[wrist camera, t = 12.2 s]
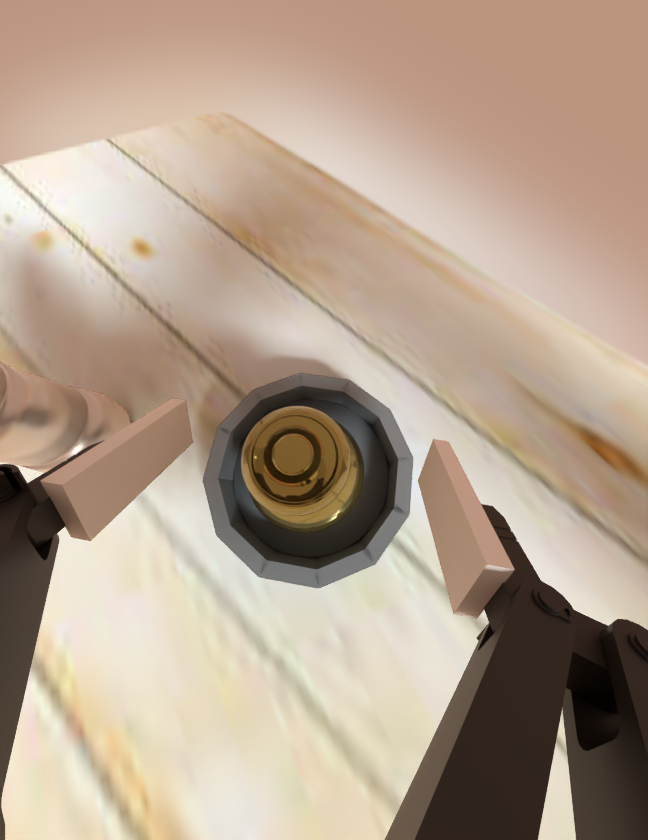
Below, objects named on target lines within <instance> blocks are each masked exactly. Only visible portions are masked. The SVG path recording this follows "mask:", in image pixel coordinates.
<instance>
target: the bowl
mask: <svg viewBox="0 0 648 840" xmlns="http://www.w3.org/2000/svg"><path fill="white" fill-rule="evenodd" d="M290 406H305V407H310V408H314V409H316V410H319V411H321V412H323V413H325V414H326V415H328V416H329V417H330V418H332V419H334V420H335V421H337V422H339V423H340V424H341V425H343V426H344V427H345V428H346V429H347V430H348V431H349V432H350V433H351V435H352V436H353V437H354V439H355V440H356V442H357V444H358V446H359V448H360V450H361V453H362V457H363V461H364V483H363V487H362V491H361V493H360V496H359V498H358V500H357V502H356V504H355V505H354V507H353V508H352V510H351V511H350V512H349V513H348V514H347V515H346V516H345V517H344V518H343V519H342V520H340V521H339V522H338V523H336V524H335V525H333V526H331V527H329V528H326V529H324V530H321V531H317V532H310V533H299V532H292V531H288V530H285V529H283V528H280V527H278V526H276V525H275V524H273V523H271V522H270V521H269V520H267V519H266V518H265V517H264V516H263V515H262V514H261V513H260V512H259V510H258V509H257V507H256V506H255V504H254V503H253V501H252V499H251V496H250V494H249V491H248V488H247V486H246V484H245V481H244V478H243V474H242V468H241V456H242V450H243V446H244V443H245V441H246V438H247V436H248V435H249V433H250V431H251V430H252V428H253V427H254V426H255V425H256V424H257V423H258V422H259V421H260V420H261V419H262V418H263V417H265V416H266V415H268V414H269V413H271V412H273V411H275V410H278V409H281V408H284V407H290ZM218 427H219V428H218ZM218 427H217V431H216V435H215V438H214V442H213V445H212V449H211V452H210V456H209V459H208V463H207V467H206V470H205V474H204V477H203V483H204V487H205V491H206V495H207V499H208V503H209V507H210V511H211V516H212V520H213V524H214V528H215V532H216V535H217V537H218V538H219V539H220V540H221V541H222V542H224V543H225V544H226V545H227V546H228V547H229V548H230V549H231V550H232V551H233V552H234V553H235V554H236V555H237V556H238V557H239V558H240V559H241V560H242V561H243V562H244V563H245V564H246V565H247V566H248V567H249V568H250V569H251V570H252V571H253V572H254V573H255V574H256V575H257V576H258V577H261V578H266V579H271V580H277V581H282V582H287V583H292V584H298V585H303V586H308V587H313V588H318V587H319V588H321V587H323V586H326V585H328V584H330V583H333V582H335V581H337V580H340V579H342V578H344V577H347V576H349V575H351V574H354V573H356V572H359V571H361V570H363V569H366V568H368V567H370V566H373V565H375V564H376V563H377V561H378V560H379V558H380V557H381V555H382V554H383V552H384V551H385V549H386V548H387V547H388V545H389V544H390V542H391V541H392V539H393V538H394V536H395V535H396V533H397V532H398V531H399V529H400V528H401V526H402V525H403V523H404V522H405V520H406V519H407V517H408V516H409V515H408V514H409V512H410V498H411V483H412V469H413V456H412V454H411V452H410V450H409V448H408V446H407V444H406V442H405V439H404V437H403V435H402V433H401V431H400V429H399V427H398V425H397V423H396V420H395V418H394V416H393V414H392V412H391V410H390V409H389V408H387V407H386V406H385V405H383V404H382V403H381V402H379V401H378V400H376V399H375V398H374V397H372V396H371V395H370V394H368V393H367V392H365V391H364V390H363V389H361V388H360V387H359V386H357V385H356V384H354V383H353V382H352V381H350V380H347V379H340V378H333V377H326V376H319V375H312V374H304V373H301V374H300V373H299V374H296V375H293V376H290V377H287V378H285V379H282V380H279V381H276V382H273V383H270V384H268V385H265V386H262V387H259V388H256V389H254V390H252V391H251V392H250V394H249V395H248V396H247V397H246V398H245V399H244V400H243V401H242V402H241V403H240V404H239V405H238V406H237V407H236V408H235V409H234V410H233V411H232V412H231V414H230V415H229V416H228V417H227V418H226V419H225V420H224V421H223V422H222V423H221V424H220V425H219V426H218ZM383 505H384V506H383ZM374 563H375V564H374Z"/></svg>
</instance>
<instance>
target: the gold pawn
mask: <svg viewBox="0 0 648 840" xmlns="http://www.w3.org/2000/svg"><path fill="white" fill-rule="evenodd" d="M241 468H242V474H243V478H244V481H245V484H246V486H247V488H248V491H249V494H250V496H251V499H252V501H253V503H254V504H255V506H256V507H257V509H258V510H259V512H260V513H261V514H262V515H263V516H264V517H265V518H266V519H267V520H269V521H270V522H271V523H273V524H275V525H276V526H278V527H280V528H283V529H285V530H288V531H292V532H299V533H310V532H317V531H321V530H324V529H326V528H329V527H331V526H333V525H335V524H336V523H338V522H339V521H340V520H342V519H343V518H344V517H345V516H346V515H347V514H348V513H349V512H350V511H351V510H352V508H353V507H354V505H355V504H356V502H357V500H358V498H359V496H360V493H361V491H362V487H363V483H364V461H363V457H362V453H361V450H360V448H359V446H358V444H357V442H356V440H355V439H354V437H353V436H352V435H351V433H350V432H349V431H348V430H347V429H346V428H345V427H344V426H343V425H341V424H340V423H339V422H337V421H335V420H334V419H332V418H330V417H329V416H328V415H326V414H325V413H323V412H321V411H319V410H316V409H314V408H310V407H305V406H290V407H284V408H281V409H278V410H275V411H273V412H271V413H269V414H268V415H266V416H265V417H263V418H262V419H261V420H260V421H259V422H258V423H257V424H256V425H255V426H254V427H253V428H252V430H251V431H250V433H249V435H248V436H247V438H246V441H245V443H244V446H243V450H242V456H241Z"/></svg>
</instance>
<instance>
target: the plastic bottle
mask: <svg viewBox="0 0 648 840" xmlns="http://www.w3.org/2000/svg"><path fill="white" fill-rule="evenodd" d="M130 424H131V422H130V419H129V416H128V414H127V412H126V411H125V410H124V408H122V407H121V406H120V405H119V404H117V403H116V402H114V401H113V400H111V399H110V398H109V397H107V396H105V395H103V394H100V393H96V392H93V391H89V390H86V389H82V388H77V387H72V386H66V385H63V384H60V383H57V382H54V381H50V380H47V379H44V378H41V377H38V376H35V375H32V374H29V373H26V372H23V371H20V370H17V369H14V368H12V367H10V366H7V365H5V364H3V363H1V362H0V462H3V463H9V464H15V465H19V466H22V467H26V468H29V469H32V470H36V471H40V472H47V471H49V470H50V469H52V468H54V467H55V466H57V465H59V464H60V463H62V462H63V461H67V459H68V458H70V457H72V456H73V455H77V453H78V452H80V451H82V450H83V449H85V448H86V447H88V446H90V445H93V444H95V443H98V442H100V441H103V440H106V439H108V438H109V437H111V436H112V435H114V434H116V433H117V432H119V431H120V430H122V429H124V428H125V427H127V426H128V425H130Z"/></svg>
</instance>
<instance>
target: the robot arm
mask: <svg viewBox="0 0 648 840" xmlns="http://www.w3.org/2000/svg"><path fill="white" fill-rule="evenodd" d="M192 443H193V440H192V434H191V428H190V422H189V416H188V410H187V404H186V400H182V399H175V398H172V399H170V400H168V401H167V402H165V403H164V404H162V405H160V406H159V407H157V408H156V409H154V410H152V411H151V412H149V413H148V414H146V415H144V416H143V417H141V418H140V419H138V420H136V421H135V422H133V423H132V424H130V425H128V426H127V427H125V428H124V429H122V430H120V431H119V432H117V433H116V434H114V435H112V436H111V437H109V438H108V439H106V440H103V441H100V442H98V443H95V444H93V445H90V446H88V447H86V448H85V449H83V450H82V451H80V452H78V453H77V455H73V456H72V457H70V458H68V459H67V461H63V462H62V463H60V464H59V465H57V466H55V467H54V468H52V469H50V470H49V471H47V472H45V473H44V474H42V475H41V476H39V477H37V478H36V479H34V480H32V481H31V482H29V483H27V482H26V480H25V479H24V477H23V475H22V474H21V472H20V470H19V469H18V467H16V466H15V465H11V464H1V465H0V840H5V822H4V818H3V814H2V809H1V798H2V792H3V787H4V782H5V778H6V774H7V769H8V765H9V760H10V756H11V752H12V747H13V743H14V738H15V734H16V729H17V725H18V721H19V716H20V712H21V707H22V703H23V699H24V694H25V690H26V685H27V681H28V677H29V672H30V668H31V663H32V659H33V655H34V650H35V646H36V641H37V637H38V632H39V628H40V624H41V619H42V615H43V610H44V606H45V602H46V597H47V593H48V588H49V584H50V580H51V575H52V571H53V566H54V562H55V557H56V553H57V549H58V544H59V536H58V535H57V533H58V532H59V531H60V530H61V529H63V528H64V527H66V529H67V530H68V532H69V534H70V536H71V537H73V538H78V539H83V540H88V541H91V540H92V539H93V538H94V537H95V536H96V535H97V534H98V533H99V532H100V531H101V530H102V529H104V528H105V527H106V526H107V525H108V524H109V523H110V522H111V521H112V520H113V519H114V518H115V517H116V516H117V515H118V514H119V513H120V512H121V511H122V510H123V509H124V508H125V507H126V506H127V505H128V504H130V503H131V502H132V501H133V500H134V499H135V498H136V497H137V496H138V495H139V494H140V493H141V492H142V491H143V490H144V489H145V488H146V487H147V486H148V485H149V484H150V483H151V482H152V481H153V480H154V479H156V478H157V477H158V476H159V475H160V474H161V473H162V472H163V471H164V470H165V469H166V468H167V467H168V466H169V465H170V464H171V463H172V462H173V461H174V460H175V459H176V458H177V457H178V456H179V455H180V454H182V453H183V452H184V451H185V450H186V449H187V448H188V447H189V446H190V445H191V444H192ZM418 482H419V486H420V490H421V494H422V497H423V501H424V505H425V509H426V512H427V516H428V520H429V524H430V527H431V531H432V535H433V539H434V542H435V546H436V550H437V554H438V557H439V561H440V565H441V569H442V572H443V576H444V580H445V584H446V588H447V591H448V595H449V599H450V603H451V606H452V610H453V614H456V615H461V616H466V617H471V618H476V619H477V618H478V617H479V615H480V614H481V613H482V611H483V610H485V612H486V615H487V618H488V621H489V624H488V625H487V626H486V627H485V628H484V630H483V631H482V632H481V633H480V634H479V636H478V637H477V639H478V640H479V642H478V644H477V646H476V648H475V650H474V652H473V655H472V657H471V659H470V661H469V663H468V665H467V667H466V669H465V671H464V674H463V676H462V678H461V680H460V682H459V684H458V686H457V688H456V690H455V693H454V695H453V697H452V699H451V701H450V703H449V705H448V707H447V709H446V712H445V714H444V716H443V718H442V720H441V722H440V724H439V726H438V728H437V731H436V733H435V735H434V737H433V739H432V741H431V743H430V745H429V747H428V750H427V752H426V754H425V756H424V758H423V760H422V762H421V764H420V766H419V768H418V771H417V773H416V775H415V777H414V779H413V781H412V783H411V785H410V787H409V790H408V792H407V794H406V796H405V798H404V800H403V802H402V804H401V806H400V809H399V811H398V813H397V815H396V817H395V819H394V821H393V823H392V825H391V828H390V830H389V832H388V834H387V836H386V838H385V840H538V835H539V830H540V824H541V819H542V813H543V808H544V803H545V797H546V792H547V786H548V781H549V776H550V770H551V765H552V759H553V754H554V749H555V743H556V738H557V732H558V727H559V722H560V716H561V711H562V707H563V717H564V726H565V736H566V746H567V755H568V765H569V774H570V784H571V793H572V803H573V813H574V822H575V832H576V840H648V630H647V629H645V628H643V627H642V626H640V625H639V624H636V623H634V622H631V621H629V620H624V619H617V620H616V621H614V622H613V623H612V624H610V625H609V626H607V625H605V624H603V623H600V622H598V621H596V620H594V619H592V618H590V617H588V616H585V615H583V614H581V613H579V612H577V611H575V610H573V608H572V606H571V605H570V603H569V602H568V601H567V600H566V599H565V598H564V597H563V595H561V594H560V593H559V592H558V591H556V590H555V589H554V588H553V587H551V586H549V585H547V584H546V583H544V582H542V581H541V580H540V578H539V577H538V575H537V573H536V572H535V570H534V568H533V566H532V565H531V563H530V561H529V560H528V558H527V556H526V554H525V553H524V551H523V549H522V548H521V546H520V544H519V542H517V541H516V540H517V539H516V537H515V536H514V534H513V532H511V529H510V527H509V525H508V524H507V522H506V520H505V518H504V517H503V516H502V515H501V514H500V513H499V512H498V511H497V510H496V509H495V508H494V507H493V506H488V505H483V504H481V503H480V501H479V499H478V498H477V496H476V494H475V492H474V490H473V488H472V486H471V484H470V482H469V480H468V478H467V476H466V474H465V472H464V470H463V469H462V467H461V465H460V463H459V461H458V459H457V457H456V455H455V453H454V451H453V449H452V447H451V445H450V443H449V442H447V441H441V440H434V439H433V441H432V444H431V447H430V449H429V452H428V455H427V458H426V460H425V463H424V466H423V468H422V471H421V474H420V477H419V479H418Z"/></svg>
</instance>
